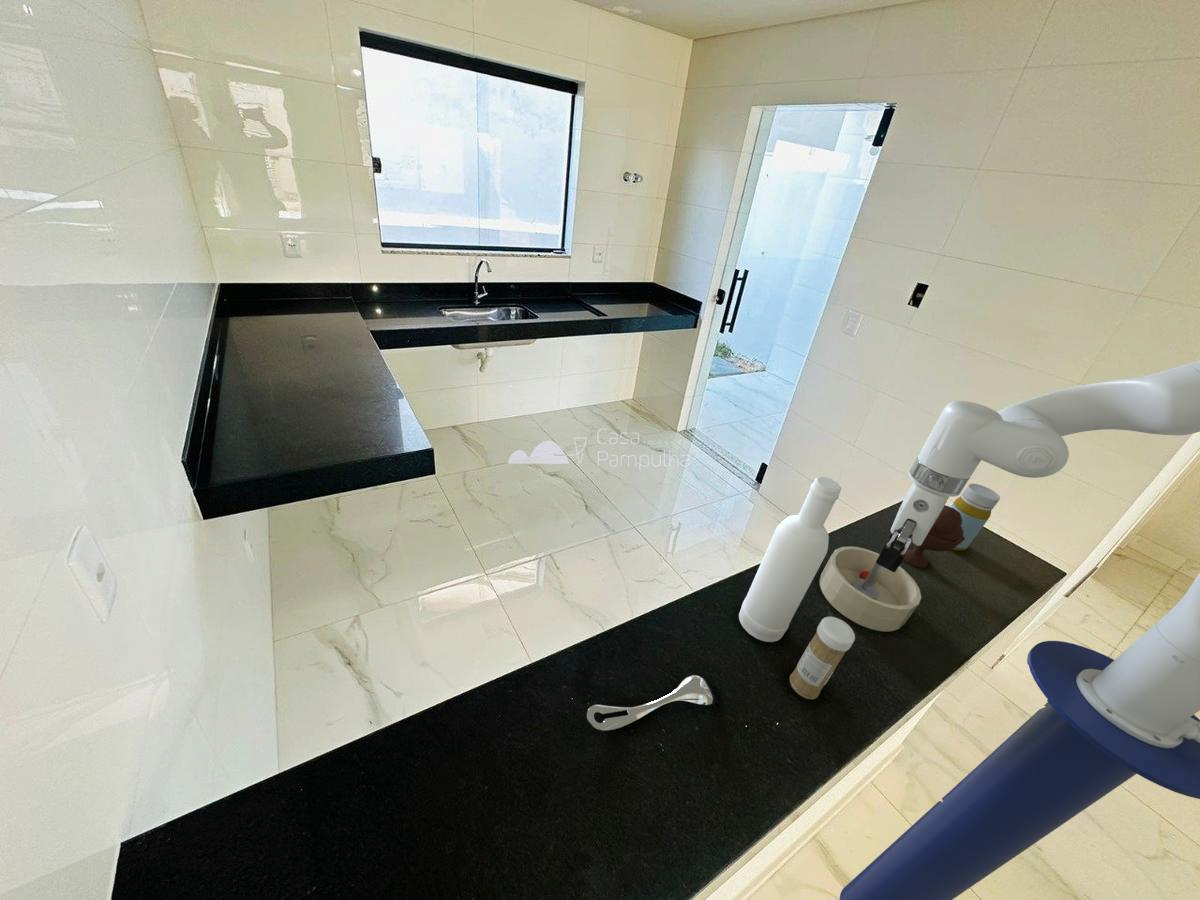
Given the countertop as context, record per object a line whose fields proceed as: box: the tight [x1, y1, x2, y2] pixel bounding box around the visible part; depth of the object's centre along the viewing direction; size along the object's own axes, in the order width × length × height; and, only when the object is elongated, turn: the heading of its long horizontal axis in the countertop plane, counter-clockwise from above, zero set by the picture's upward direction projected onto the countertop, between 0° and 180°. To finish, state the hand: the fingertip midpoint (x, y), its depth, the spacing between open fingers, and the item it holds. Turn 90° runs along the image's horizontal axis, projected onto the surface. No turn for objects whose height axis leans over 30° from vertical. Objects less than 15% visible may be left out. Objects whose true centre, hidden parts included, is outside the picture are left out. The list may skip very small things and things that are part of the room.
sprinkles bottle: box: [789, 616, 856, 700], centre depth 67 cm, size 5×5×14 cm
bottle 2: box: [950, 483, 1001, 552], centre depth 106 cm, size 7×7×15 cm
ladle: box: [851, 541, 889, 600], centre depth 86 cm, size 5×5×13 cm
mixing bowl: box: [819, 546, 922, 632], centre depth 88 cm, size 16×16×6 cm
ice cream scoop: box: [585, 673, 717, 732], centre depth 64 cm, size 20×4×5 cm
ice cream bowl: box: [903, 505, 965, 568], centre depth 99 cm, size 11×11×15 cm
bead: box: [859, 571, 870, 580], centre depth 92 cm, size 2×2×2 cm
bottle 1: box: [738, 476, 842, 643], centre depth 73 cm, size 8×8×30 cm
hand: (891, 554), depth 83 cm, fingers open, 9 cm apart
